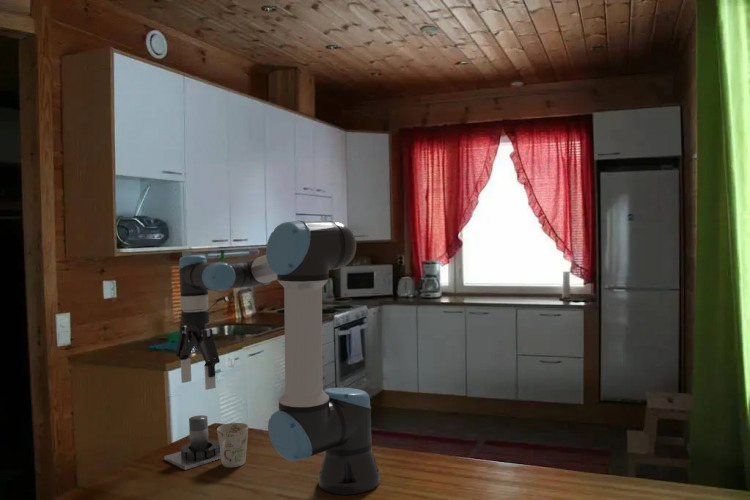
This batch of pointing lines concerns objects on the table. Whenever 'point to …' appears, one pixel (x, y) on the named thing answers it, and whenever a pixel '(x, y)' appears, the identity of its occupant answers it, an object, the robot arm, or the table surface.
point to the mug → (233, 443)
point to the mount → (194, 456)
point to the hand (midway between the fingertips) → (198, 385)
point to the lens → (198, 432)
